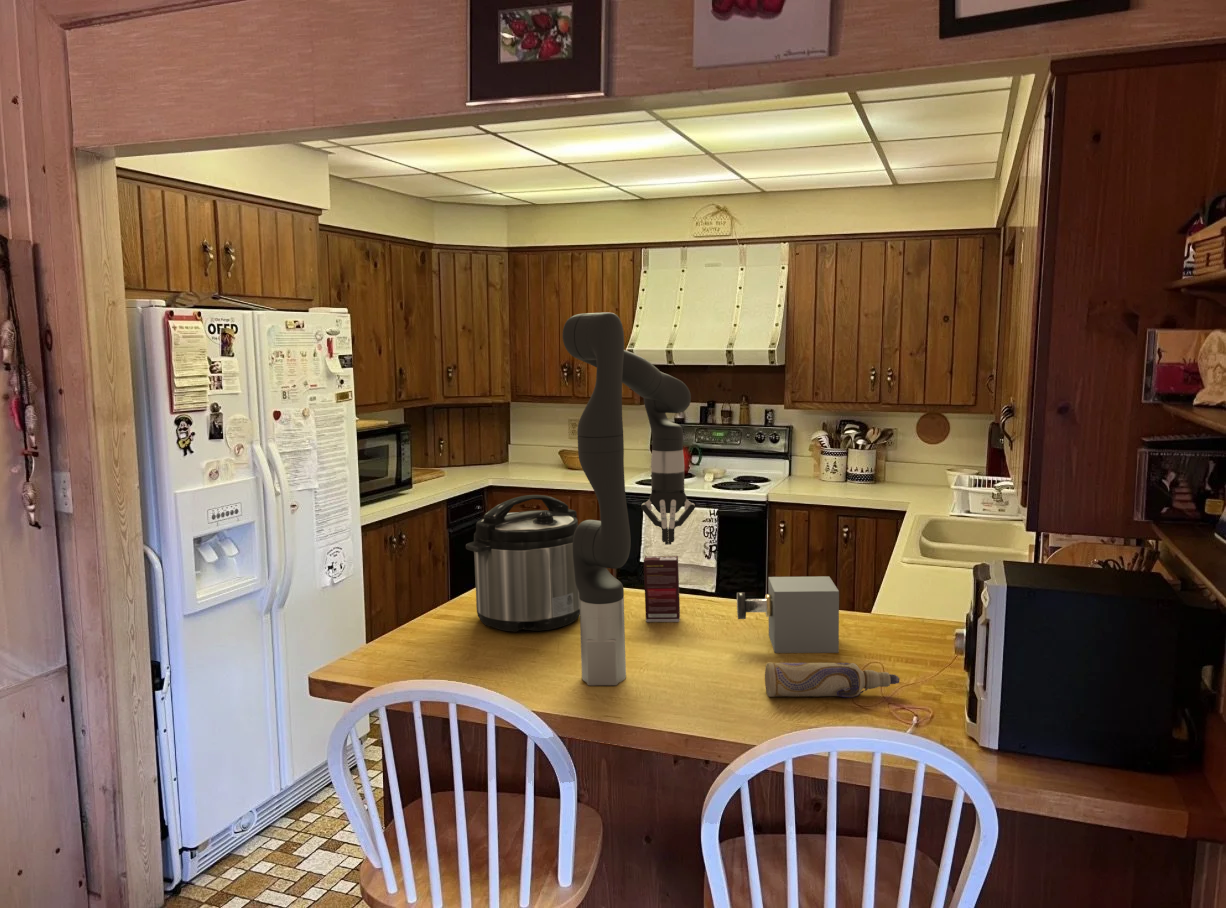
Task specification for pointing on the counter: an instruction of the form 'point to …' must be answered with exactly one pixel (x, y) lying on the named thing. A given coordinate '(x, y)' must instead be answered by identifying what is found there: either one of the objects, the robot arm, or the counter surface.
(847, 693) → the decorative bottle
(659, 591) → the supplement box
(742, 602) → the shaft
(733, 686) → the counter surface
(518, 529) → the pressure cooker
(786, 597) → the bearing block
